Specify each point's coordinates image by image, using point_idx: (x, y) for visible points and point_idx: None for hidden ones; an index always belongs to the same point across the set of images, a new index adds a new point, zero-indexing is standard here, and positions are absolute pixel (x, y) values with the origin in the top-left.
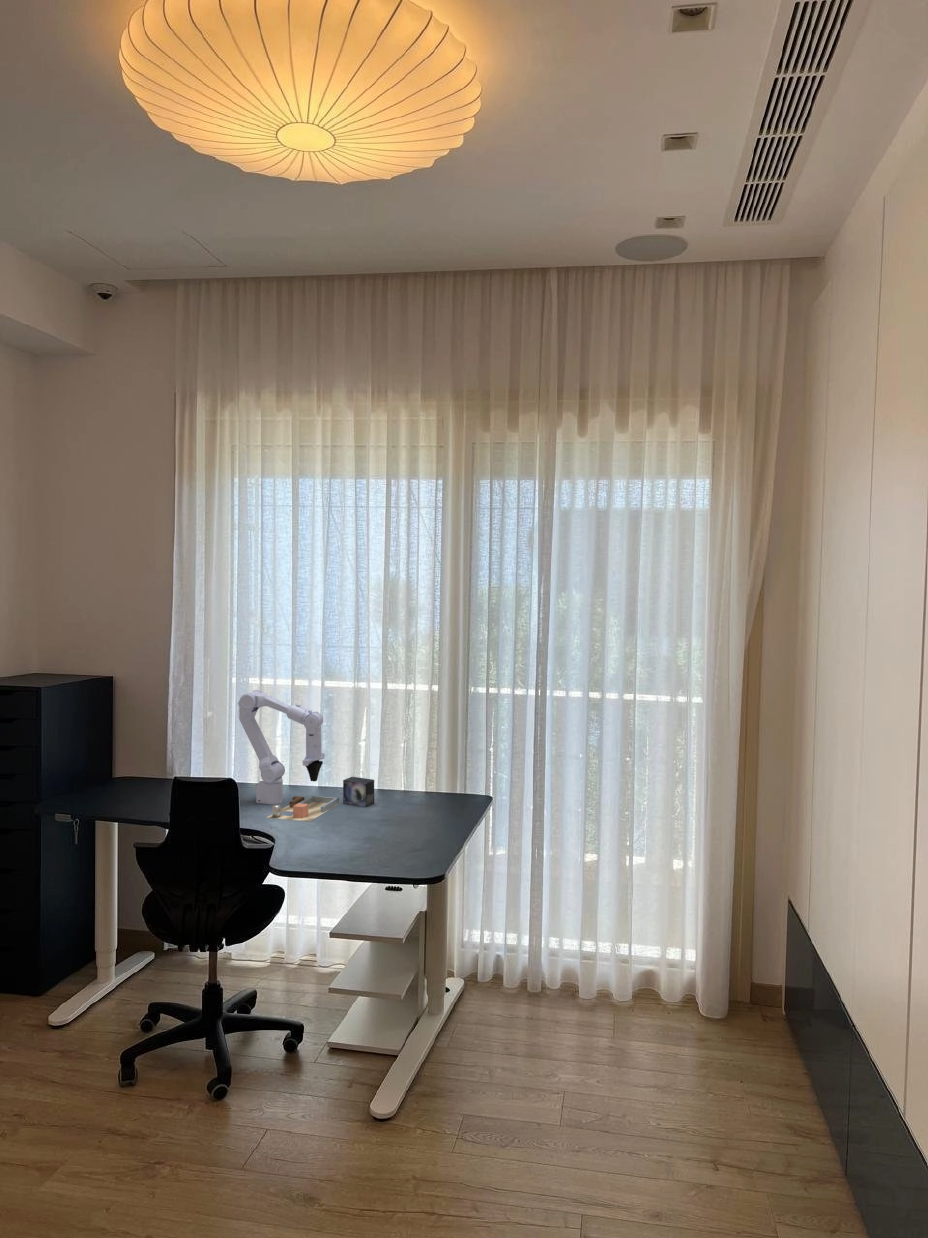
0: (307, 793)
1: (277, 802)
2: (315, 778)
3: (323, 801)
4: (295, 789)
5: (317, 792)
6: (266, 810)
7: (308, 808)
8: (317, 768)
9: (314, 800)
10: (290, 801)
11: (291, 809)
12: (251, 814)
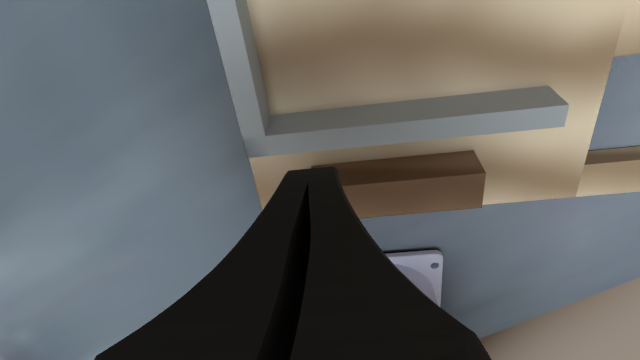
0: (69, 269)
1: (414, 282)
2: (343, 190)
3: (248, 26)
4: (59, 343)
5: (6, 237)
6: (495, 272)
7: (478, 36)
8: (366, 291)
9: (267, 110)
10: (474, 206)
11: (533, 141)
12: (591, 291)
